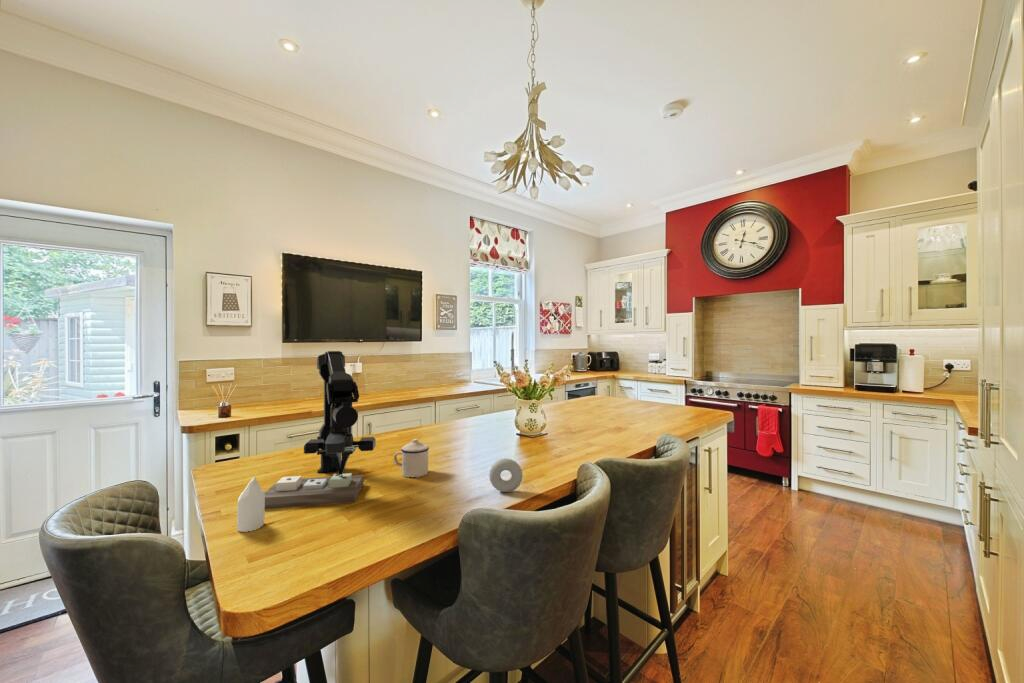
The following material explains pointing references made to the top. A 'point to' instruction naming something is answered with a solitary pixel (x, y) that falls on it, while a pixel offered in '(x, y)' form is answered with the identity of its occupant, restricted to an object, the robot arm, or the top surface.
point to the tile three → (341, 480)
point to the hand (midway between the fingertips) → (340, 474)
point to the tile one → (288, 483)
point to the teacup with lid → (413, 459)
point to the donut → (505, 484)
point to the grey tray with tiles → (313, 494)
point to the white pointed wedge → (251, 507)
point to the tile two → (315, 484)
